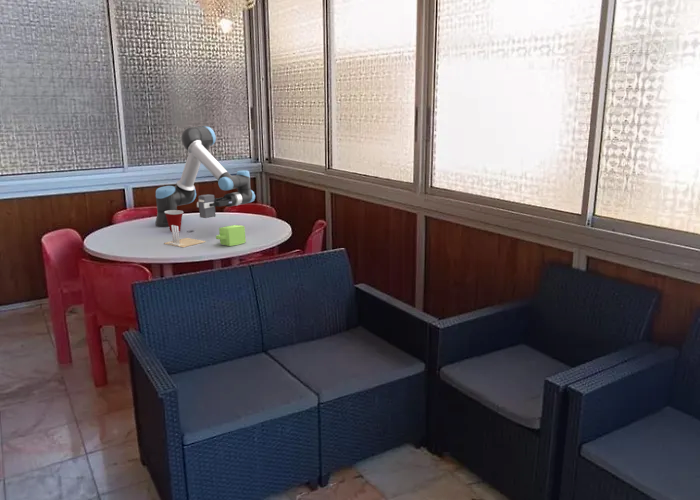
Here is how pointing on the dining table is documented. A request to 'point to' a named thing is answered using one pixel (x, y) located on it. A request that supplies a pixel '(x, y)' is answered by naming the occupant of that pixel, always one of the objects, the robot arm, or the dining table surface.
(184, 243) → the board
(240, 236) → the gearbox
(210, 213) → the plug housing
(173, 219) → the plastic cup
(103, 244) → the dining table surface
